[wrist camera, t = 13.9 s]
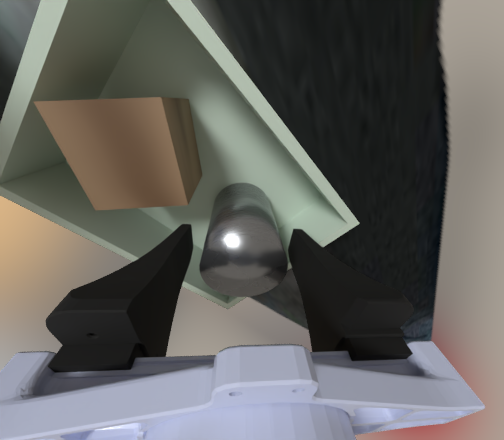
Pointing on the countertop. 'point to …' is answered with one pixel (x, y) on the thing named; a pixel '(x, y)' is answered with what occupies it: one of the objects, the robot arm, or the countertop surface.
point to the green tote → (144, 86)
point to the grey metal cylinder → (242, 244)
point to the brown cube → (128, 149)
